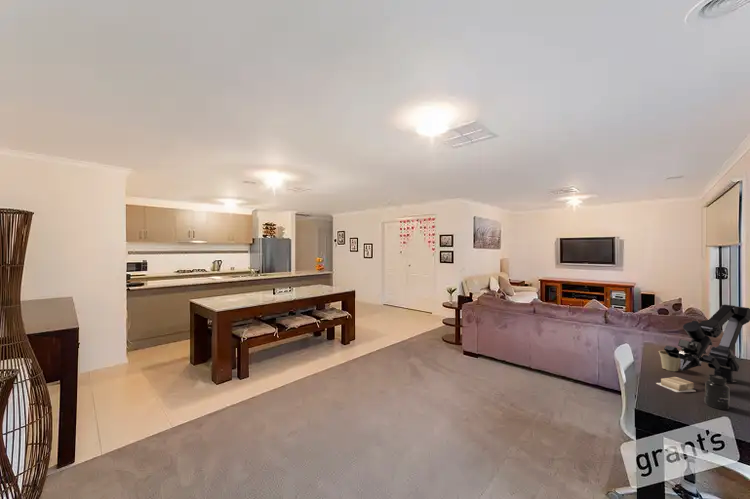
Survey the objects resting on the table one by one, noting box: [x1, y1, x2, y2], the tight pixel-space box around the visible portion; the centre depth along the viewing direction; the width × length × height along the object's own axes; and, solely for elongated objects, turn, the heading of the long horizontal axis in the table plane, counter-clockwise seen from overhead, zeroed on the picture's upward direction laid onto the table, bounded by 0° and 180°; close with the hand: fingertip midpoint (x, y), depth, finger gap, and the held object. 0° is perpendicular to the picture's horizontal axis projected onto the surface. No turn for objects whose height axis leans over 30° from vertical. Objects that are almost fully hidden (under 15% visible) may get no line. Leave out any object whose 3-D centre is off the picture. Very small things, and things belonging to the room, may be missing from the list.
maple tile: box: [660, 376, 695, 391], centre depth 145 cm, size 3×7×10 cm
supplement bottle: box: [704, 374, 731, 411], centre depth 128 cm, size 7×7×12 cm
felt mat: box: [655, 382, 697, 393], centre depth 145 cm, size 10×9×1 cm
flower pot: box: [658, 350, 681, 372], centre depth 168 cm, size 9×9×9 cm
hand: (681, 370), depth 146 cm, fingers closed
